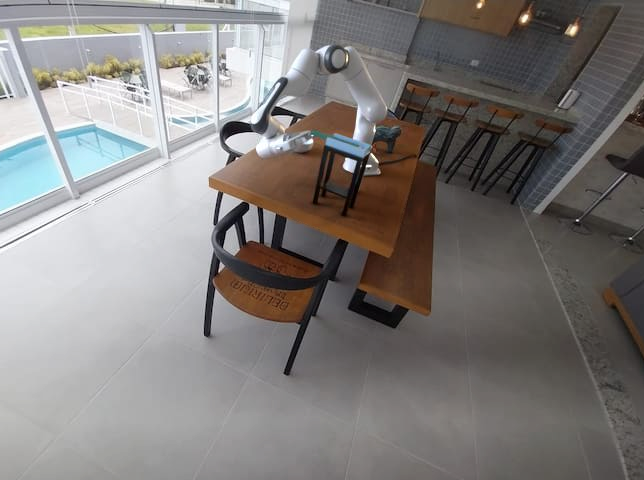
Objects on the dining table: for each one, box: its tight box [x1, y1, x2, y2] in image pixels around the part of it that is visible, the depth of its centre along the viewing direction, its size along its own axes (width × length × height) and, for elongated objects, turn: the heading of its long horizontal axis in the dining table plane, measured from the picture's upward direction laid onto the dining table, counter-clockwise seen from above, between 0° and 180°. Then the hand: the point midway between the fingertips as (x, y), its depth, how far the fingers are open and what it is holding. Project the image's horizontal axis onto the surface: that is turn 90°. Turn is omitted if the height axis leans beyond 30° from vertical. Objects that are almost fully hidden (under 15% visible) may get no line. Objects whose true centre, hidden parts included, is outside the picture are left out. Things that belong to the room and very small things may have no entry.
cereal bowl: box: [293, 138, 314, 154], centre depth 186 cm, size 17×17×7 cm
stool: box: [312, 144, 371, 217], centre depth 135 cm, size 17×11×27 cm, turn 60°
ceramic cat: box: [372, 119, 402, 154], centre depth 201 cm, size 20×6×20 cm, turn 84°
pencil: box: [310, 129, 364, 149], centre depth 127 cm, size 24×2×1 cm, turn 60°
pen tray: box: [325, 132, 373, 158], centre depth 125 cm, size 17×8×3 cm, turn 60°
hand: (311, 136), depth 131 cm, fingers open, 8 cm apart
